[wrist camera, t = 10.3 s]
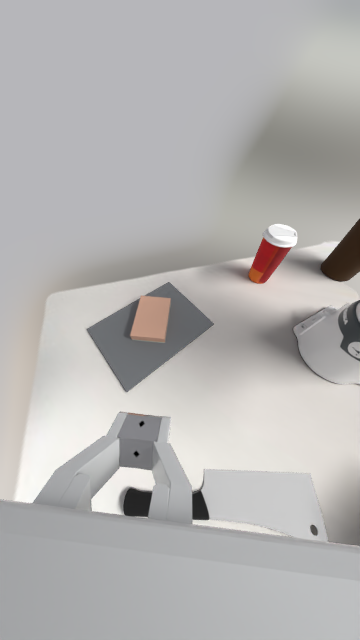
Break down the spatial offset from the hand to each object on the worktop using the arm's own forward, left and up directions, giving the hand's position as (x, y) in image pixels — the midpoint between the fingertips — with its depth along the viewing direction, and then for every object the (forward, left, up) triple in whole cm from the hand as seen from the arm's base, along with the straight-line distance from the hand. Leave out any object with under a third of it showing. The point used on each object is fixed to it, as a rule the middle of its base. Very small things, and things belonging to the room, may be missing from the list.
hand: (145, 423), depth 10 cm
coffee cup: (-47, -13, -27) cm, 56 cm away
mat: (-10, -19, -27) cm, 35 cm away
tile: (-7, -16, -25) cm, 31 cm away
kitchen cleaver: (-2, +13, -28) cm, 31 cm away
